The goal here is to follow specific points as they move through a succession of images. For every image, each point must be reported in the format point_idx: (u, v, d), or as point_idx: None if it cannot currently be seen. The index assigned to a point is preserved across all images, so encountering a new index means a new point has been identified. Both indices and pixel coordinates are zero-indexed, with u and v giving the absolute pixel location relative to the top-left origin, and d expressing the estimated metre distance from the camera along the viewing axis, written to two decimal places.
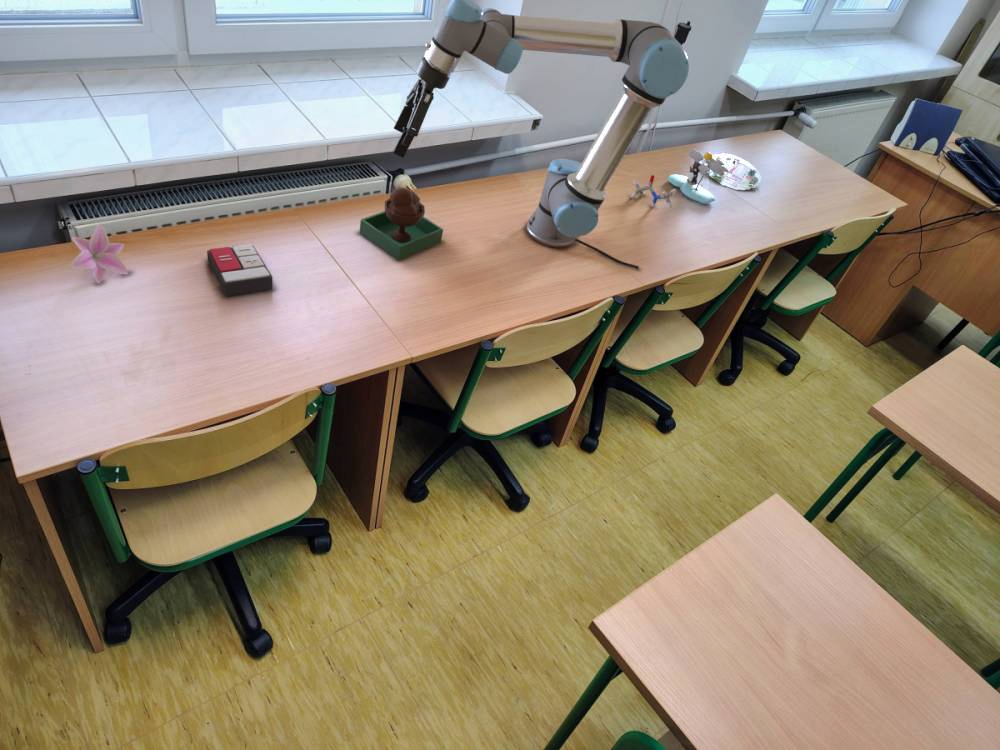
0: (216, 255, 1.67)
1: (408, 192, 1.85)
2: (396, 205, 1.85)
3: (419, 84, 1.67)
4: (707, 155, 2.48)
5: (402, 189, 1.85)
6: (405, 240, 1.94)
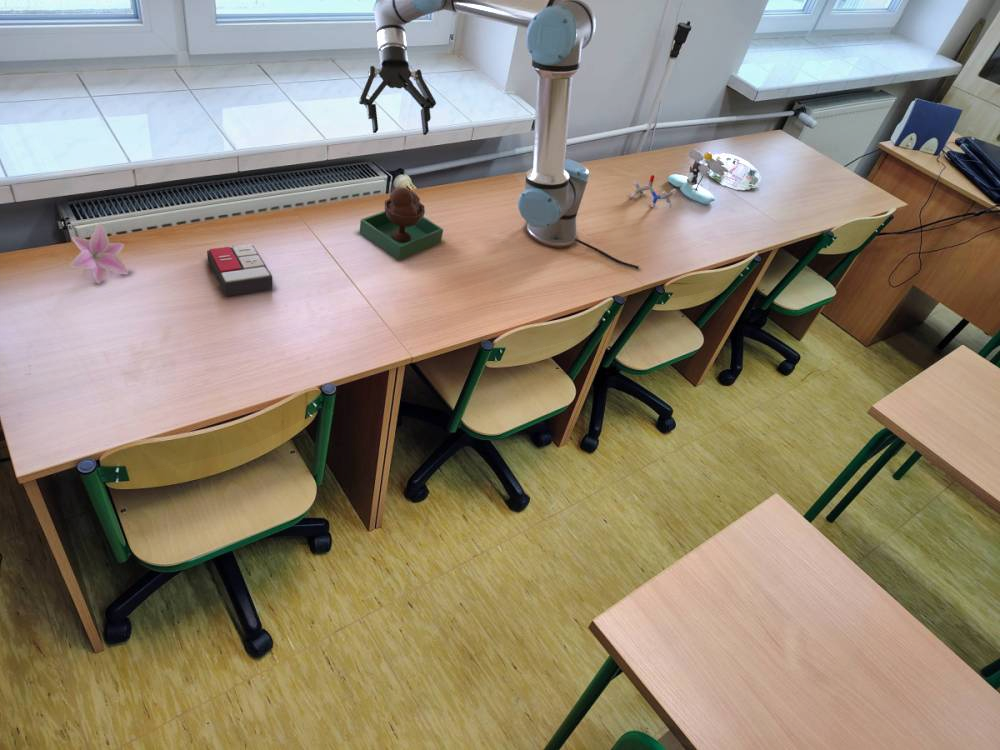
0: (216, 255, 1.67)
1: (408, 192, 1.85)
2: (396, 205, 1.85)
3: None
4: (707, 155, 2.48)
5: (402, 189, 1.85)
6: (405, 240, 1.94)
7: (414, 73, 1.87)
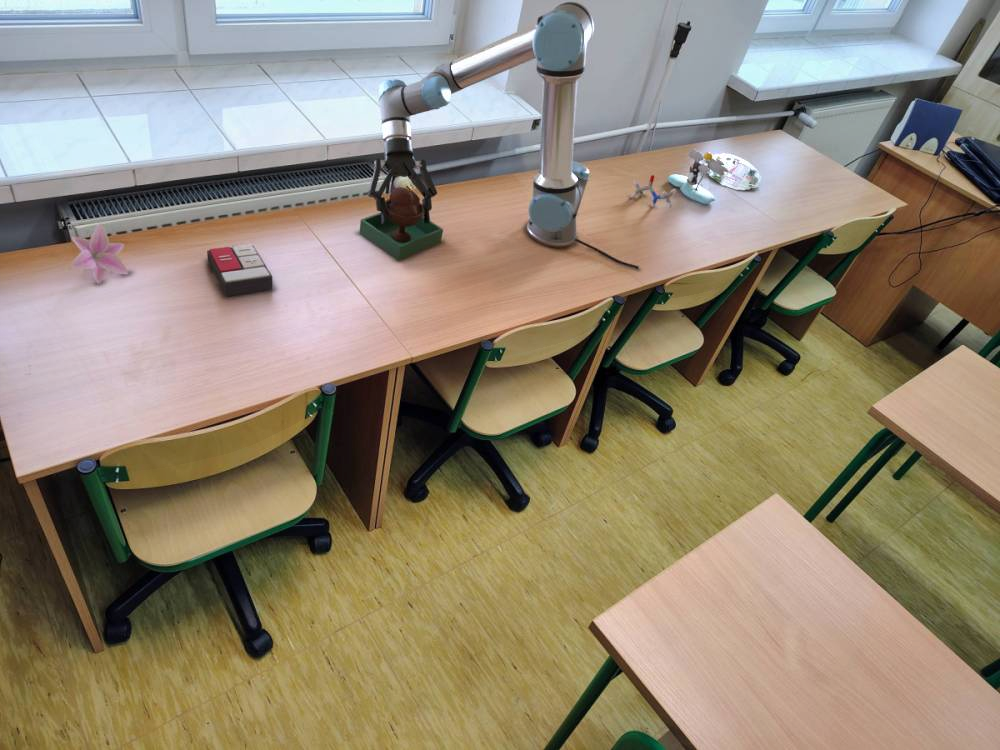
0: (216, 255, 1.67)
1: (408, 192, 1.85)
2: (396, 205, 1.85)
3: None
4: (707, 155, 2.48)
5: (402, 189, 1.85)
6: (405, 240, 1.94)
7: (419, 163, 1.91)
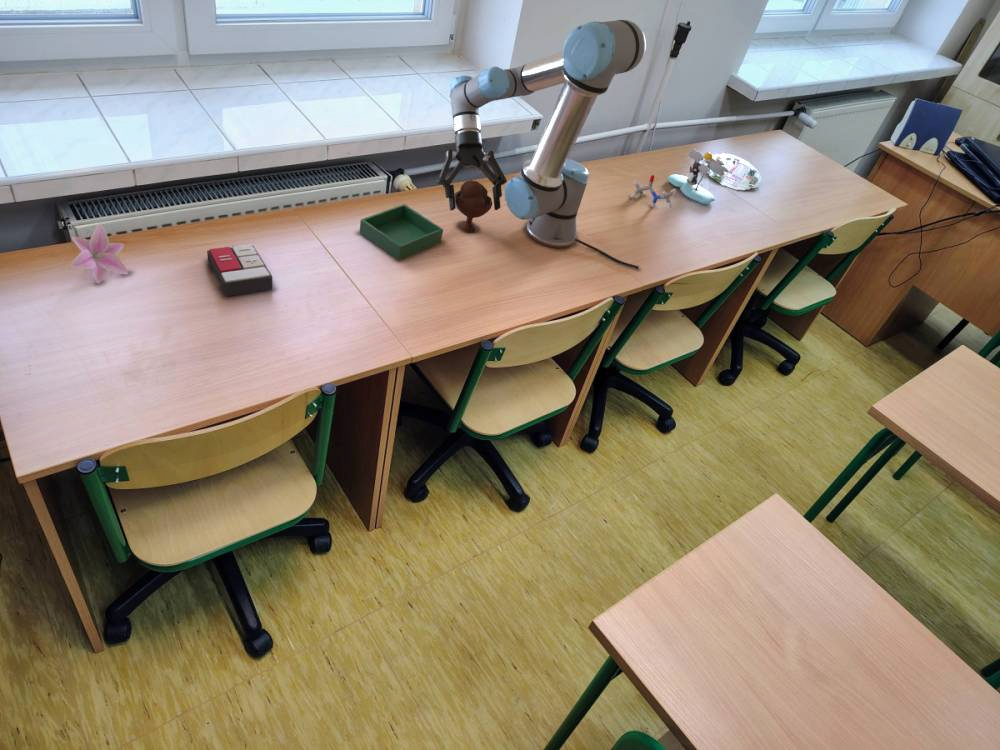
0: (216, 255, 1.67)
1: (478, 185, 1.97)
2: (467, 197, 1.97)
3: None
4: (707, 155, 2.48)
5: (473, 182, 1.96)
6: (472, 230, 2.05)
7: (487, 154, 2.02)
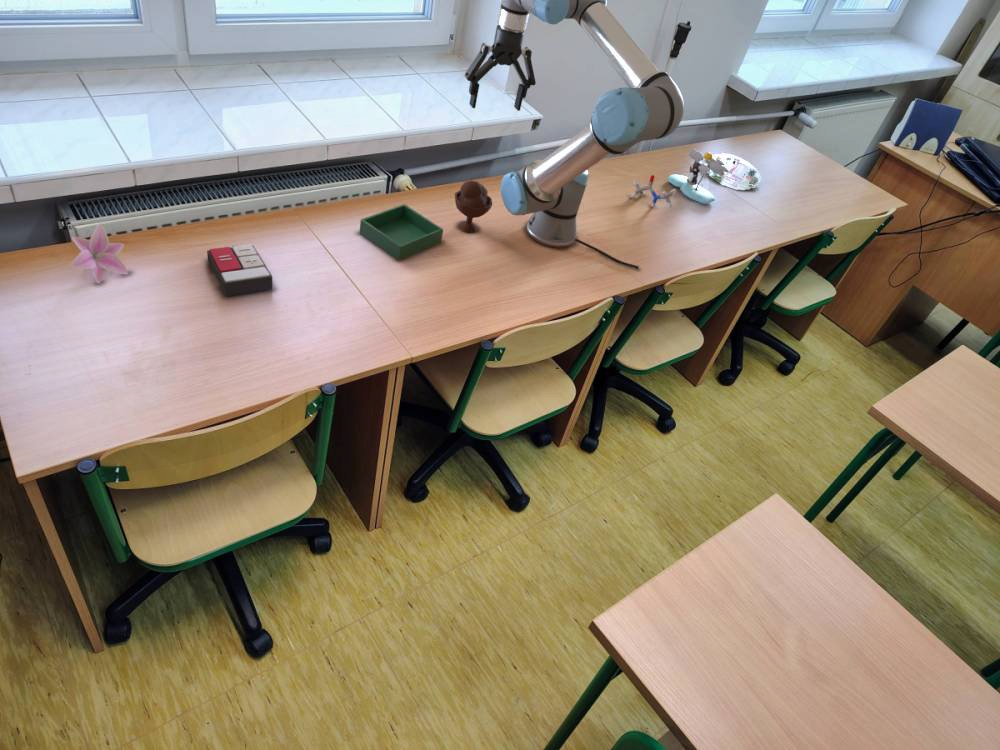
0: (216, 255, 1.67)
1: (478, 185, 1.97)
2: (467, 197, 1.97)
3: None
4: (707, 155, 2.48)
5: (473, 182, 1.96)
6: (472, 230, 2.05)
7: (524, 52, 1.89)
